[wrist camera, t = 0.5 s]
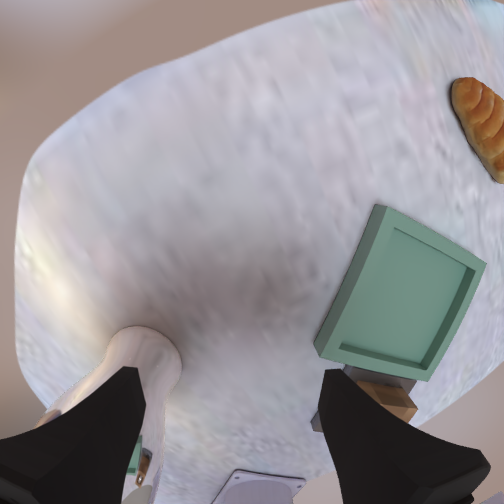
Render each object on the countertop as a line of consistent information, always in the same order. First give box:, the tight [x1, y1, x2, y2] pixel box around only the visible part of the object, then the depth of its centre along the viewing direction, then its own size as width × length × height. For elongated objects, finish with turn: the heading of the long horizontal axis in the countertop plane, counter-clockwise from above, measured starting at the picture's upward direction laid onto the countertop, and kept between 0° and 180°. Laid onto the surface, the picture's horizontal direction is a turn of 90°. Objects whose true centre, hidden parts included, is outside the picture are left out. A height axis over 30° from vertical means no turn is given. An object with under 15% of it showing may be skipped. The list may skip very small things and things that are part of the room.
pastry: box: [452, 77, 504, 184], centre depth 17 cm, size 9×7×4 cm
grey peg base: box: [311, 365, 417, 432], centre depth 21 cm, size 7×7×4 cm
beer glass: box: [33, 326, 182, 504], centre depth 14 cm, size 7×7×15 cm
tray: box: [314, 205, 487, 382], centre depth 20 cm, size 11×11×2 cm
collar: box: [356, 380, 418, 423], centre depth 21 cm, size 5×5×3 cm
